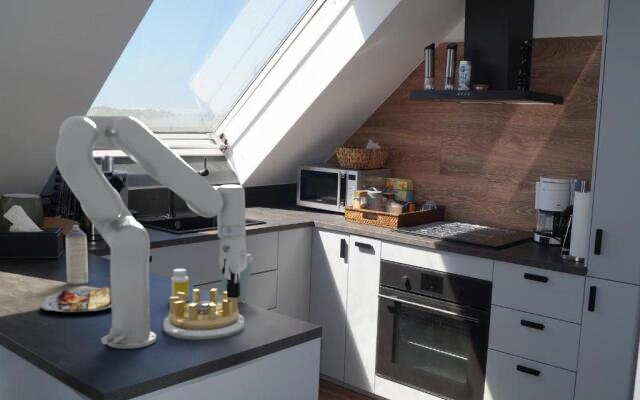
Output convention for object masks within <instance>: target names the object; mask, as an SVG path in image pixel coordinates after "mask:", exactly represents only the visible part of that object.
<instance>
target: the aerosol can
mask: <svg viewBox="0 0 640 400" xmlns="http://www.w3.org/2000/svg"><path fill="white" fill-rule="evenodd" d="M65 261H66V265H65V266H66V284H67V285H68V286H74V287H75V286H85V285H88V283H89V270H88V269H89V267H88V265H89V263H88V239H87V233H85V232H84V231H83V230H81V228H79V225H78V224H76V225H72V229H70V230H69V231H68V233H66V234H65Z"/></svg>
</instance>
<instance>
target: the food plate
mask: <svg viewBox="0 0 640 400" xmlns="http://www.w3.org/2000/svg"><path fill="white" fill-rule="evenodd" d="M40 308H42V309H43V310H44V311H54V312H61V313H66V314H67V313H69V314H77V313H78V314H79V313H81V314H82V313H94V312H103V311H105V310H107V309H109V308H111V289H110V287H109V286H103V287H99V288H82V289H79V288H78V289H71V290H68V289H64V290H62V291H61V292H57V293H54V294H51V295H50V296H46V297H45V299H44V301H42V304H41V307H40ZM60 308H61V309H60ZM85 309H86V310H85Z"/></svg>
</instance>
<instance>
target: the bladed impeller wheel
mask: <svg viewBox="0 0 640 400" xmlns="http://www.w3.org/2000/svg"><path fill="white" fill-rule="evenodd" d="M200 291H201V290H199V289H198V288H194V289H192V302H189V303H187V301H186V293H184V292H178V293H176V297H171V296H170V297H169V311H168V316H169V323H170V324H171V325H173V326H175V327H178V328H182V329H189V330H211V329H218V328H223V327H227V326H230V325H233V324H234V323H236V322H237V321H238V320H239V314H240V311H239V307H238V304H239V303H238V298H229V297H227V291H226V292H223V291H222V301H221V302H220V301H218V300H219V299H218V298H219V297H218V288H211V289H210V290H209V300H201V292H200Z"/></svg>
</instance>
